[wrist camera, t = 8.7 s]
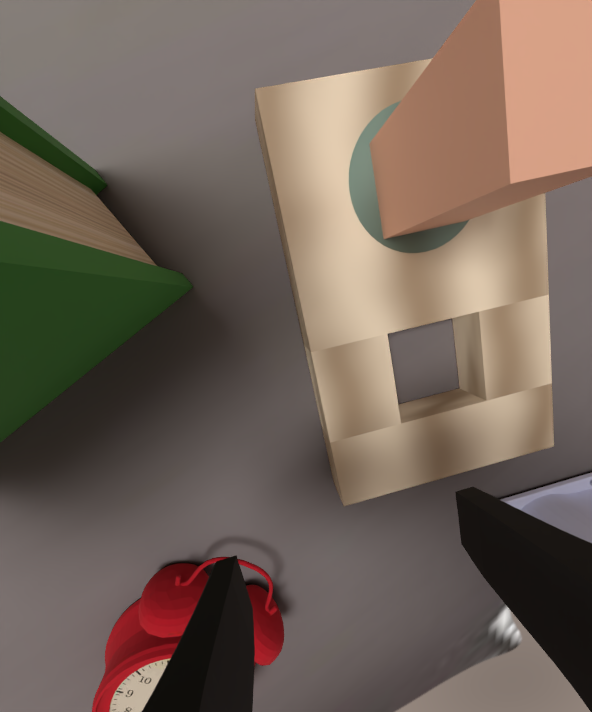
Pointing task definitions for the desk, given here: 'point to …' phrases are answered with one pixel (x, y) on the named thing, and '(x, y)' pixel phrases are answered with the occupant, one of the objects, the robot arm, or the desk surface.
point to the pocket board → (402, 295)
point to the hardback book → (63, 272)
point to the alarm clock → (171, 633)
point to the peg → (490, 117)
